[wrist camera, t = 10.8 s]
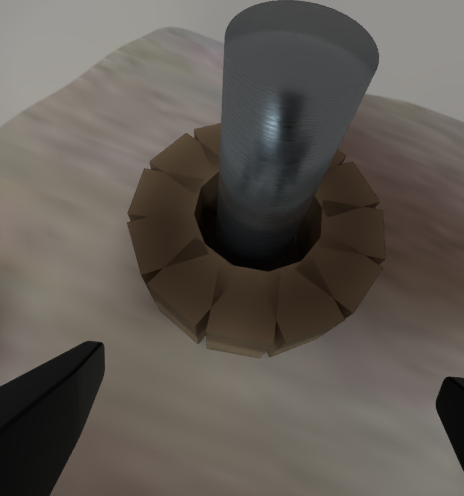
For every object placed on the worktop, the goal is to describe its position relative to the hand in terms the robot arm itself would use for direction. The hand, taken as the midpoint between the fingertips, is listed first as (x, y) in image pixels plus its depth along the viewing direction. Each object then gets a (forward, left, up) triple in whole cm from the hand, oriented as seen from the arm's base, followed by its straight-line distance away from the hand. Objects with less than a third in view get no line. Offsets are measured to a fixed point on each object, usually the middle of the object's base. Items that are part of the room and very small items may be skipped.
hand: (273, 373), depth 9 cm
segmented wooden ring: (+7, -3, -8) cm, 11 cm away
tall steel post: (+7, -3, -8) cm, 11 cm away
